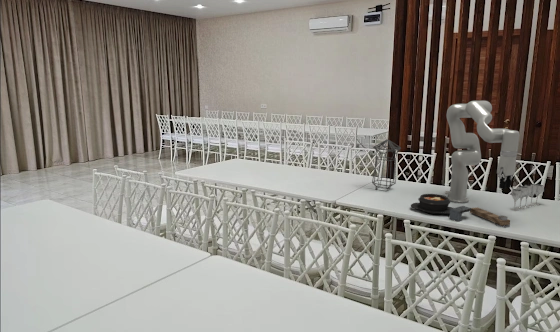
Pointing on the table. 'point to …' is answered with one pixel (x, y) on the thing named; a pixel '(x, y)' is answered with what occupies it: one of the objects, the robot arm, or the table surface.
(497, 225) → the pintle plate
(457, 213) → the keeper
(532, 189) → the goblet set
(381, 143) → the geometric lantern
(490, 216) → the brown wooden bar
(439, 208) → the casserole
